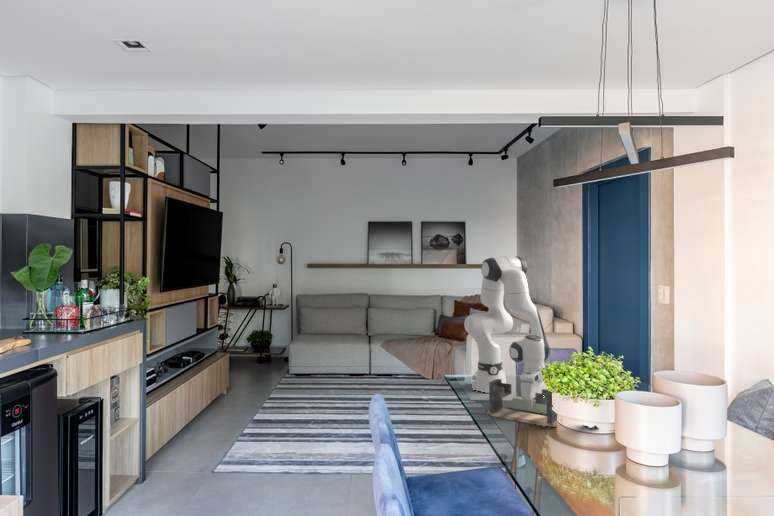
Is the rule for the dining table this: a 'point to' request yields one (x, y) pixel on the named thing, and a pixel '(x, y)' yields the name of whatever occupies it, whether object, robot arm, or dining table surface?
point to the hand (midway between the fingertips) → (535, 405)
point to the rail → (523, 405)
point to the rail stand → (502, 390)
